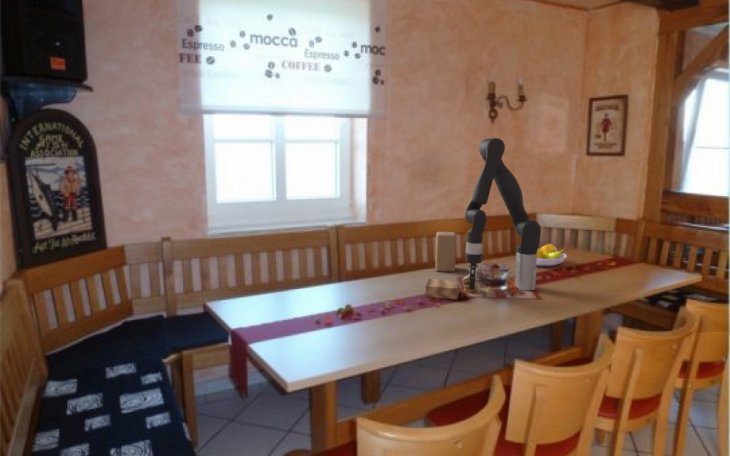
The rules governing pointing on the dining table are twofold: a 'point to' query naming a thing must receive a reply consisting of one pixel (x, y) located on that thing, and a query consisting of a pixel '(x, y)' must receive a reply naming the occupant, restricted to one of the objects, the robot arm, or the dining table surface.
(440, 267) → the wooden block
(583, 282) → the dining table surface
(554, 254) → the fruit bowl
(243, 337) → the dining table surface
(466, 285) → the chocolate bunny
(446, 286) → the oak step
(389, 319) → the dining table surface
